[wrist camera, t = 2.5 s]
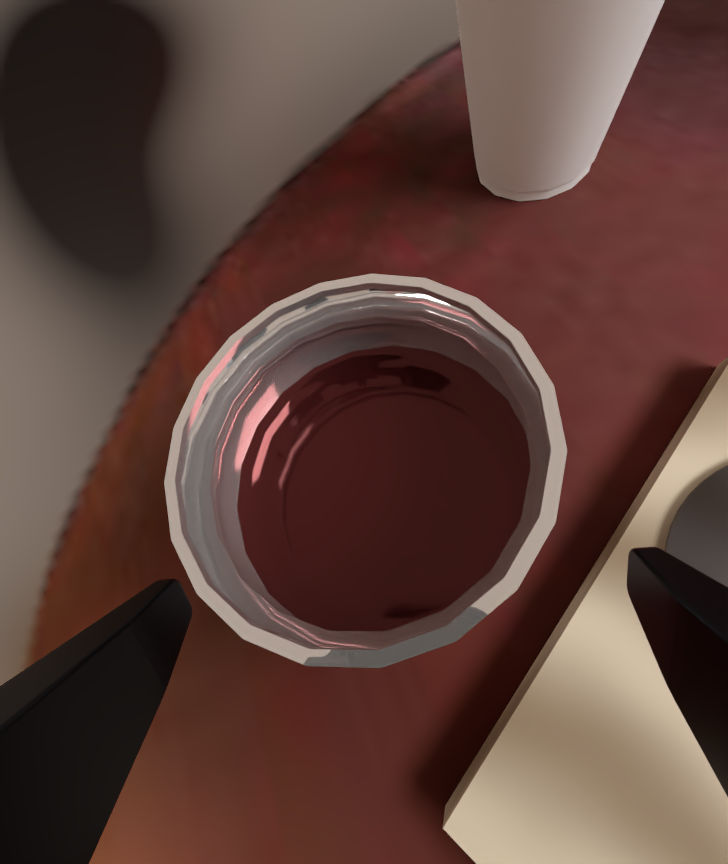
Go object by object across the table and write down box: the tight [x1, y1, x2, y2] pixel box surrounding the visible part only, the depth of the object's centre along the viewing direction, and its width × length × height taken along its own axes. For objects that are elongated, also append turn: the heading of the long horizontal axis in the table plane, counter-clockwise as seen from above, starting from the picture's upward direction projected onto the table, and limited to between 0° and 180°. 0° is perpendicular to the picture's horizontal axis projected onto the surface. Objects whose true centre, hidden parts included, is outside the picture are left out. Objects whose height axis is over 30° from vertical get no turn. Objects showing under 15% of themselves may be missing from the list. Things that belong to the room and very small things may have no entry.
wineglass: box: [164, 274, 567, 668], centre depth 12 cm, size 7×7×12 cm
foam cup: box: [455, 0, 665, 201], centre depth 18 cm, size 10×9×13 cm
